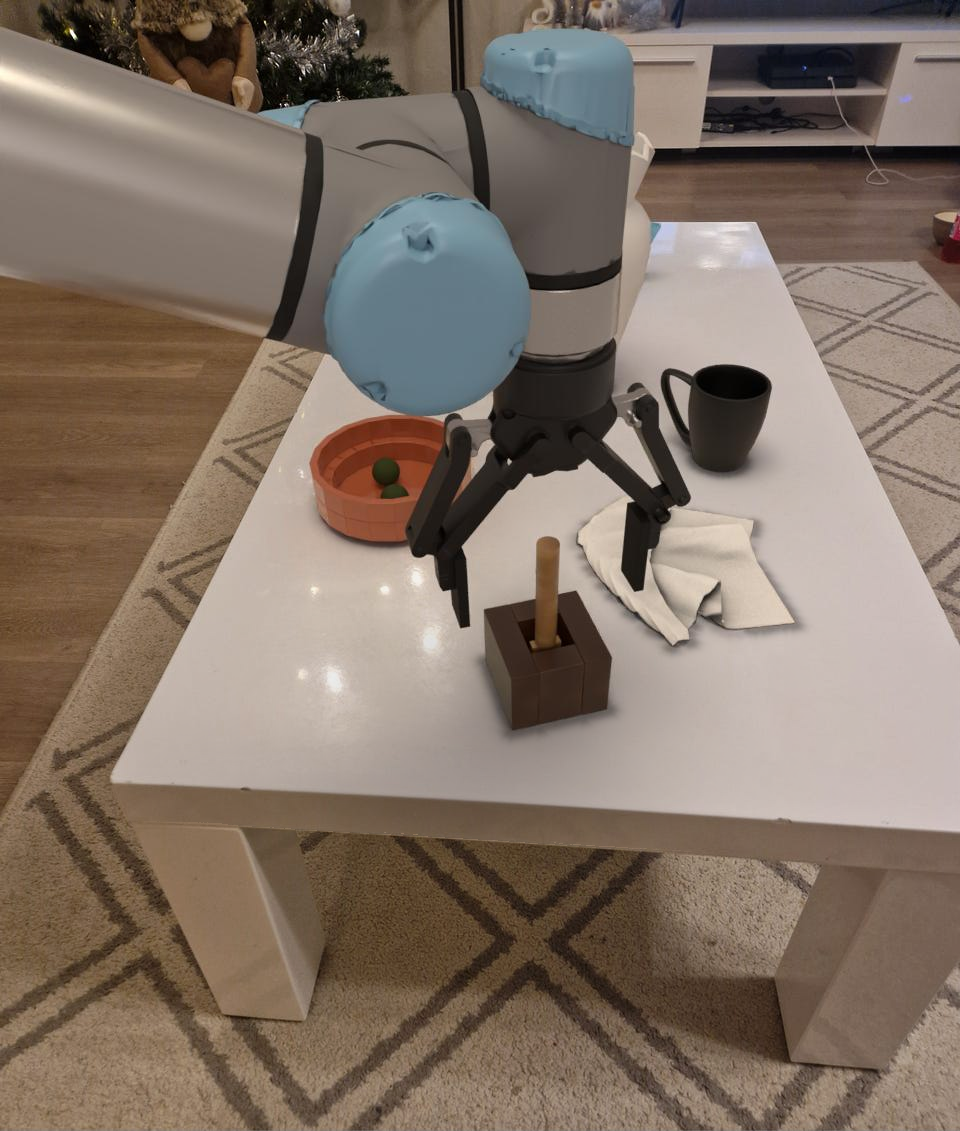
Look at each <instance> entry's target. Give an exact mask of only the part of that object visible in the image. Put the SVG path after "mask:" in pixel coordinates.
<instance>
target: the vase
mask: <svg viewBox="0 0 960 1131" xmlns="http://www.w3.org/2000/svg"><path fill="white" fill-rule="evenodd" d="M634 136H635V140H634V146H632V150H631V161H630V171H629V182H628V193H627V204H626V214H625V225H624V236H623V246H622V250H623V252H622V253H623V255H622V276H621V292H620V308H619V323H618V331H617V334H616V335H615V336H614V339H615V341H616V345H617V346H616V353H617V351H618V349H619V347H620V344H621V341H622V339H623V336H624V333H625V331H626V328H627V325H628V323H629V320H630V317H631V315H632V313H633V310H634V307H635V305H636V302H637V299H638V297H639V295H640V292H641V289H642V286H643V284H644V281H645V278H646V275H647V269H648V264H649V263H648V262H649V258H650V253H651V248H652V247H651V245H652V243H651V238H650V222H651V219H650V218H649V215H648V214H647V212H646V210H645V208H644V206H643V205H642V204H641V203H640V202H639V201H638V199H636V195H637V194H638V191H639V189H640V186H641V184H642V182H643V180H644V178H645V176H646V173H647V171H648V169H649V166H650V165H651V162H652V160H653V158H654V155H655V153H656V151H655V148H654V147H653V145H652V144H651V141H650V140H649V138H648V136H647V135H646V134H644V133H642V132H640V131H638V132H637V133H636V134H634Z"/></svg>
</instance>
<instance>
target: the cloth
mask: <svg viewBox="0 0 960 1131" xmlns="http://www.w3.org/2000/svg"><path fill="white" fill-rule="evenodd" d="M629 502H634V500H633V499H632V498H631V497H630V496H629V495H625V496H624V495H623V496H622V497H620V498H619V499H618V500H615V501H614V502H612V503H610V504H609V505H607V506H605V508H603V509H602V510H601V511H600V512H599V513H596V514H595V515H594V516H592V517H591V519H590V520H589V522H587V524H585V525H584V526H583V527H582V528H581V529H580V530H578V532H576V539H575V540H576V541H575V542H576V544H578V545H581V546H582V548H583V551H584V554H585V556H586V559H587V561H588V563H589V566H590V567H591V569H592V570H593V571H594V572H595V574H596V576H597V578H598V579H599V580H600V581H601V583H603V584H605V585H606V586H607V588H608V589H609V591H610V592H611V593H612V594H613V595H614V596H615V597H617V598H618V599H620V600H621V602H622V603H623V604H624V606H625V607H626V608H627V609H628V610H629V611H630V612H632V613H633V614H635V615H637V616H639V617H640V618H641V619H642V620H643V621H644V622H645V623H646V625H648V626H649V627H650V628H651V629H652V630H654V631H656V632H658V633H660V634H662V635H663V636H664V637H665V638H666V640H667V641H668V642H669V643H670V644H671V645H672V646H674V645H675V644H677V643H678V642H679V641H684V640H685V641H690V634H689V630H690V628H691V627H692V625H693V624H694V622H696V619H697V614H699V615H701V616H703V617H705V618H708V619H711V620H713V621H714V622H715V623H716V624H718V625H720V626H722V627H723V628H725V629H733V630H739V629H752V628H761V627H769V626H771V627H772V626H779V625H780V626H781V625H788V624H795V620H794V619H793V617H792V615H791V614H790V612H789V610H788V609H787V607H786V605H785V604H784V603H783V601H782V598H780V596H779V594H778V593H777V591H776V589H775V588H774V587H773V585H772V583H771V581H770V580H769V578H768V577H767V576H766V574H765V572H764V570H763V569H762V567H761V566H760V564H759V563H758V561H757V558H756V556H755V552H754V549H753V547H752V544H751V537H752V533H753V529H754V523H755V521H754V520H752V519H746V518H743V517H742V518H741V517H735V516H730V515H724V514H718V513H712V512H705V511H699V510H691V509H683V508H679V507H670V508H669V509H668V511H669V512H670V514H671V518H670V520H669V521H668V522H667V523H666V524H664V525H661V531H660V539H659V543H658V545H657V547H656V548H654V549H649V550H648V556H647V565H646V573H645V581H644V590H642V591H637V592H634V591H633V589H632V588H631V586H630V584H629V583H628V581H627V579H626V578H625V576H624V574H623V573H622V571H621V562H622V552H623V541H624V531H625V520H626V509H627V503H629Z"/></svg>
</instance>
